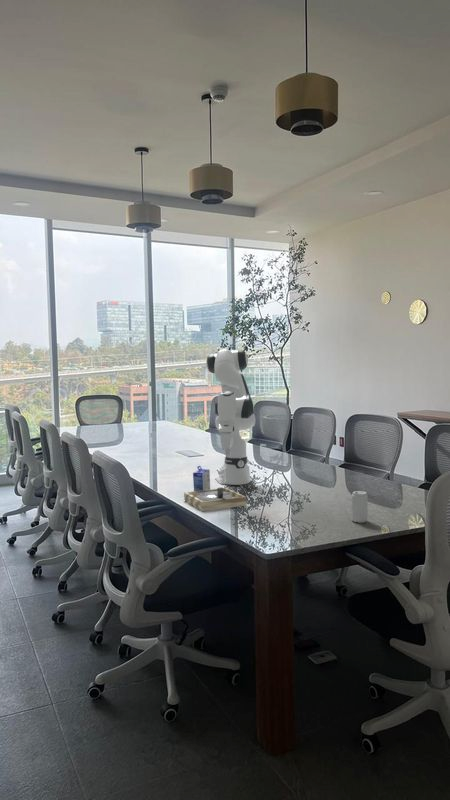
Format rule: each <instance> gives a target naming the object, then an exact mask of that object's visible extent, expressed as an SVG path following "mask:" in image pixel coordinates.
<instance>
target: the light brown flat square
mask: <svg viewBox="0 0 450 800" xmlns="http://www.w3.org/2000/svg"><path fill="white" fill-rule="evenodd" d="M222 488H223V491H224V492H229V493H231V494H232V497H233V498H227V499H225V498H223V499H219V500H211V501H202V500H200V499H198V498H197V494H199V493H202V492H208V491H217V488H212V489H211V488H210V490H202V491H194V490H192V491H186V492H185V491H184V493H183V495H184V496H183V498H184V499H183V500H185V501H184V502H186V503H187V502H188V503H187V504H189V503H190V504H189V505H191V506H192V505H193V506H192V507H194V506H195V507H194V508H196V509H197V508H198V509H197V510H199V511H201V512H205V511H213V510H220V509H221V510H223V509H230V508H236V507H238V508H239V507H245V506H247V496H245V495H243V494H241V493H239V492H237V491H235V490H232V489H230V488H227V487H222Z"/></svg>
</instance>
